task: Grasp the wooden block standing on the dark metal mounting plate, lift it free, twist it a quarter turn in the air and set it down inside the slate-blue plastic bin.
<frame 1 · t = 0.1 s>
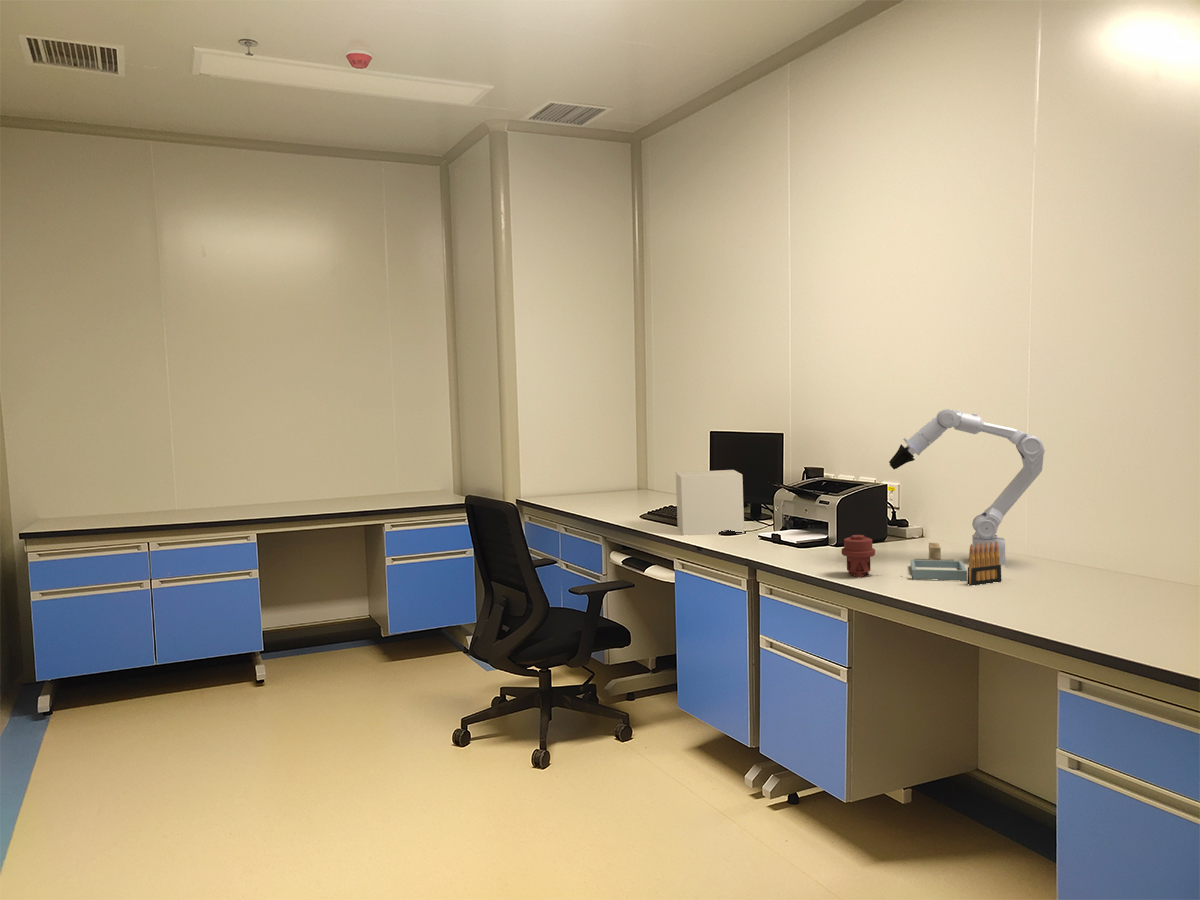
hand: (891, 466, 279), 32 cm above the table, tool tilted 50°, fingers open, 7 cm apart
cube: (710, 531, 361), on the table
ammunition clip: (984, 584, 249), on the table
mounting plate: (934, 565, 275), on the table
mechanical component: (858, 576, 265), on the table
wooden block: (934, 562, 275), point 1 cm above the table, touching mounting plate
bin: (937, 574, 261), on the table
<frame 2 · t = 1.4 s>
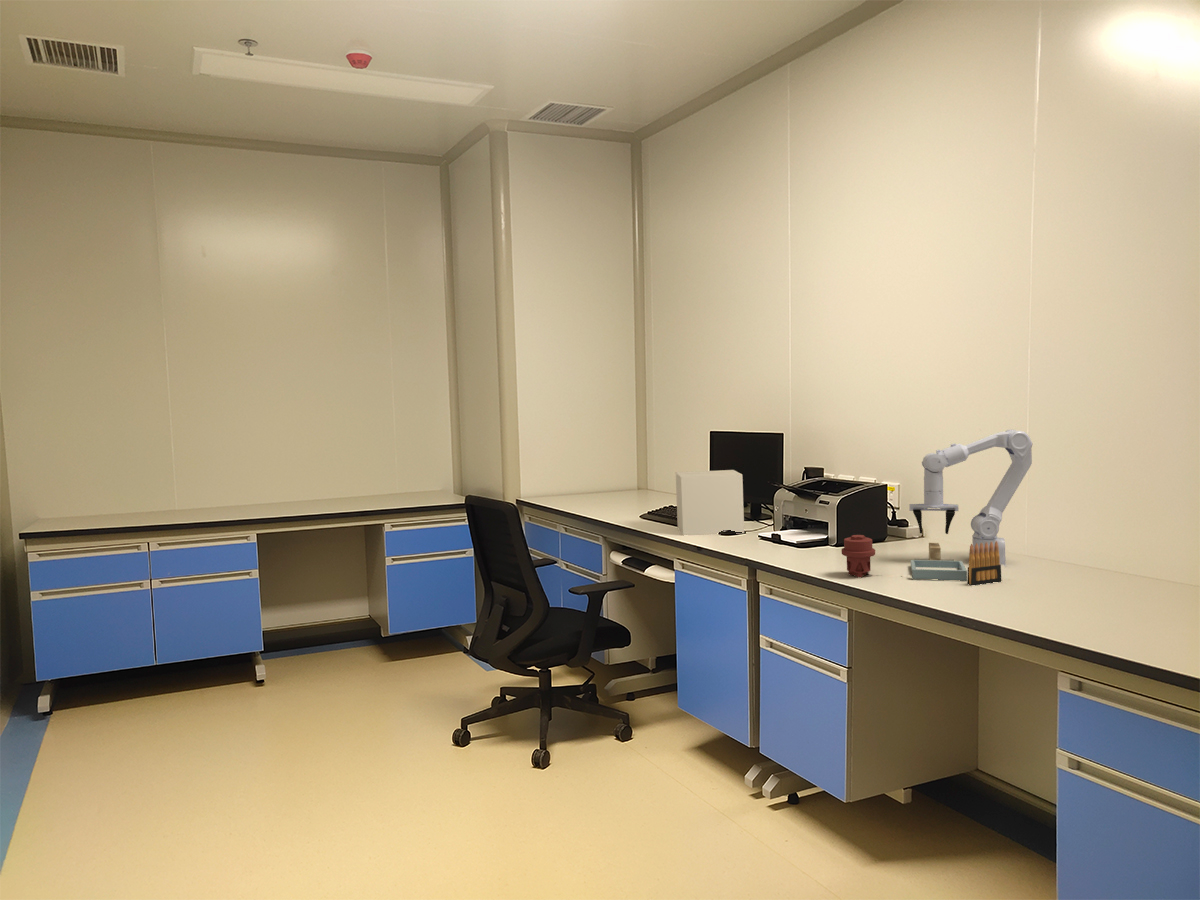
hand: (933, 533, 274), 10 cm above the table, tool pointing down, fingers open, 7 cm apart
nothing on the table moved.
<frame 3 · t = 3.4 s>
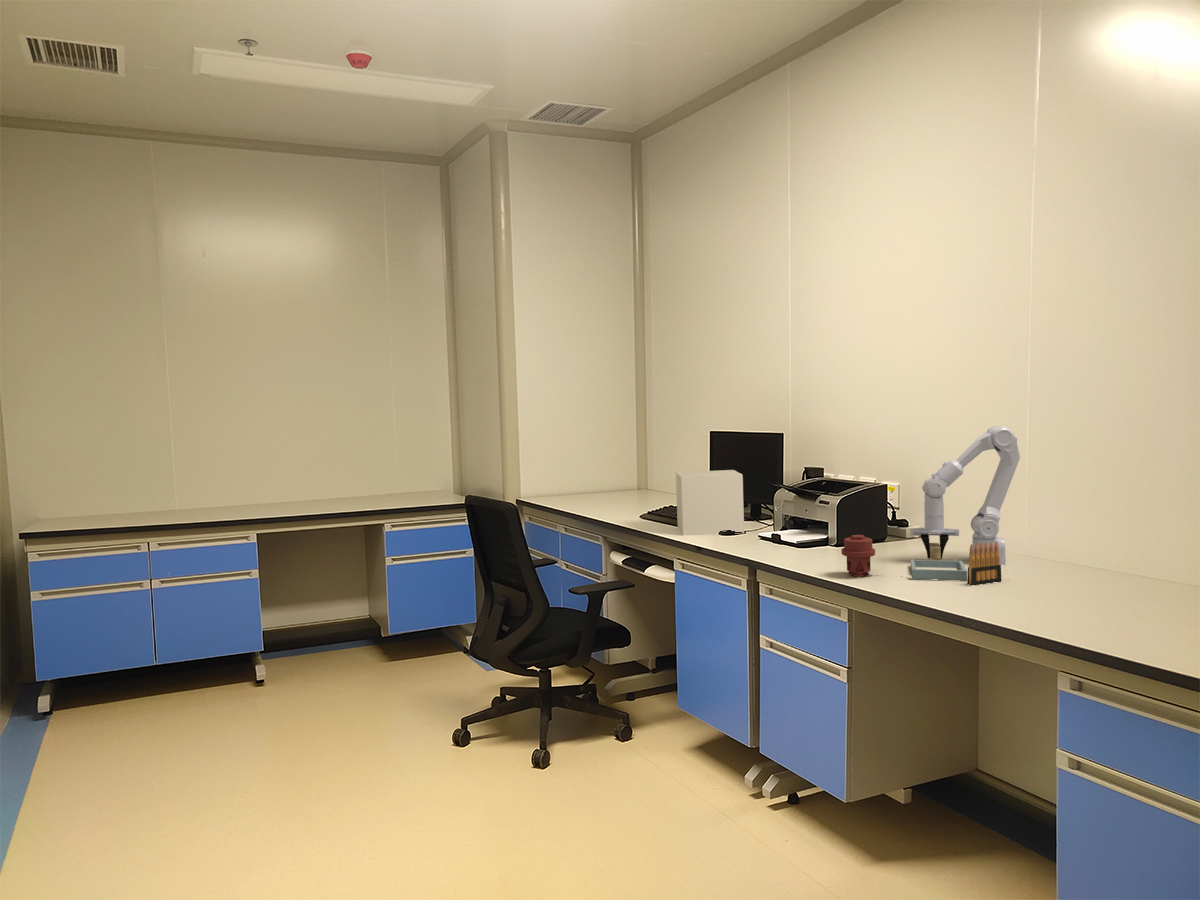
hand: (934, 557, 275), 2 cm above the table, tool pointing down, fingers closed on wooden block, 3 cm apart
wooden block: (934, 562, 275), point 1 cm above the table, touching gripper, mounting plate
everything else where it was.
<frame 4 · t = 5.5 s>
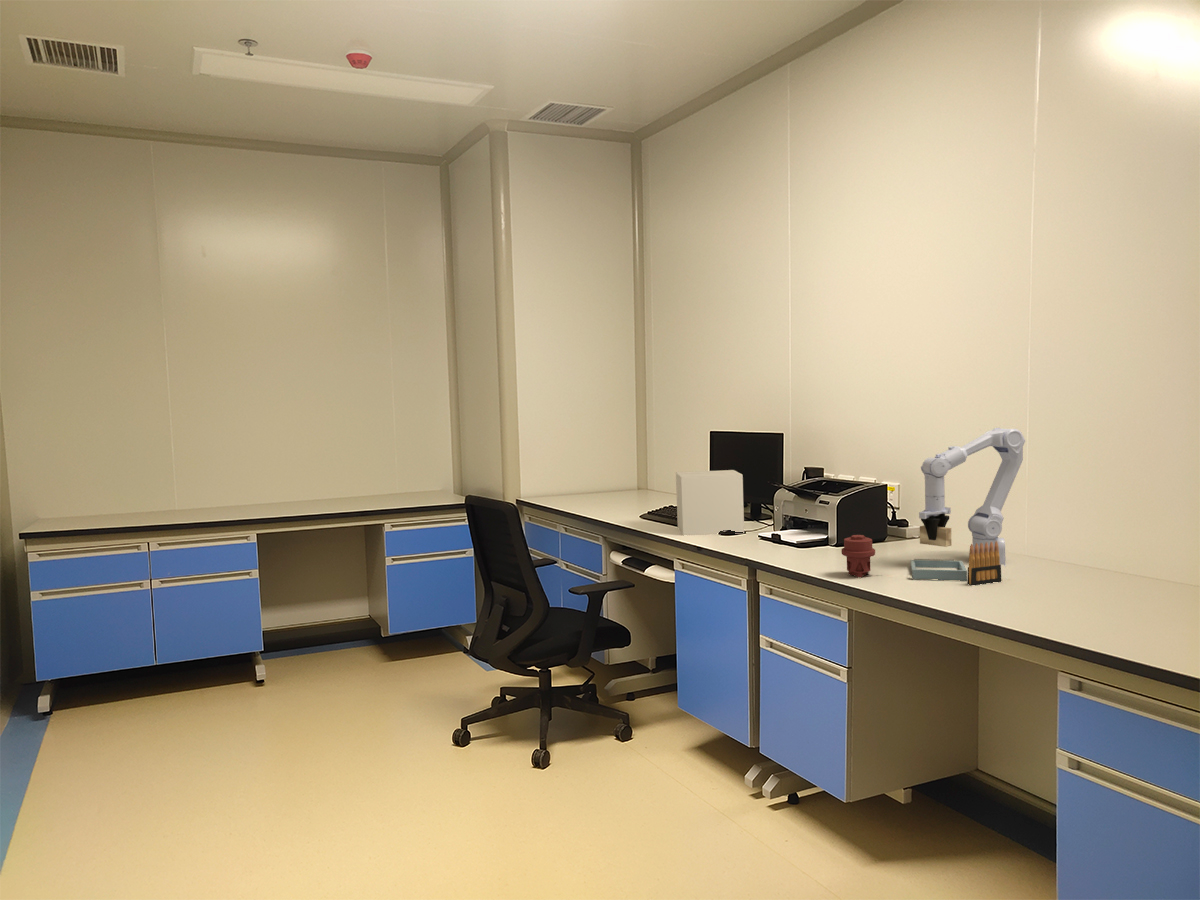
hand: (935, 539, 270), 9 cm above the table, tool pointing down, fingers closed on wooden block, 3 cm apart
wooden block: (935, 544, 270), point 8 cm above the table, touching gripper
everything else where it was.
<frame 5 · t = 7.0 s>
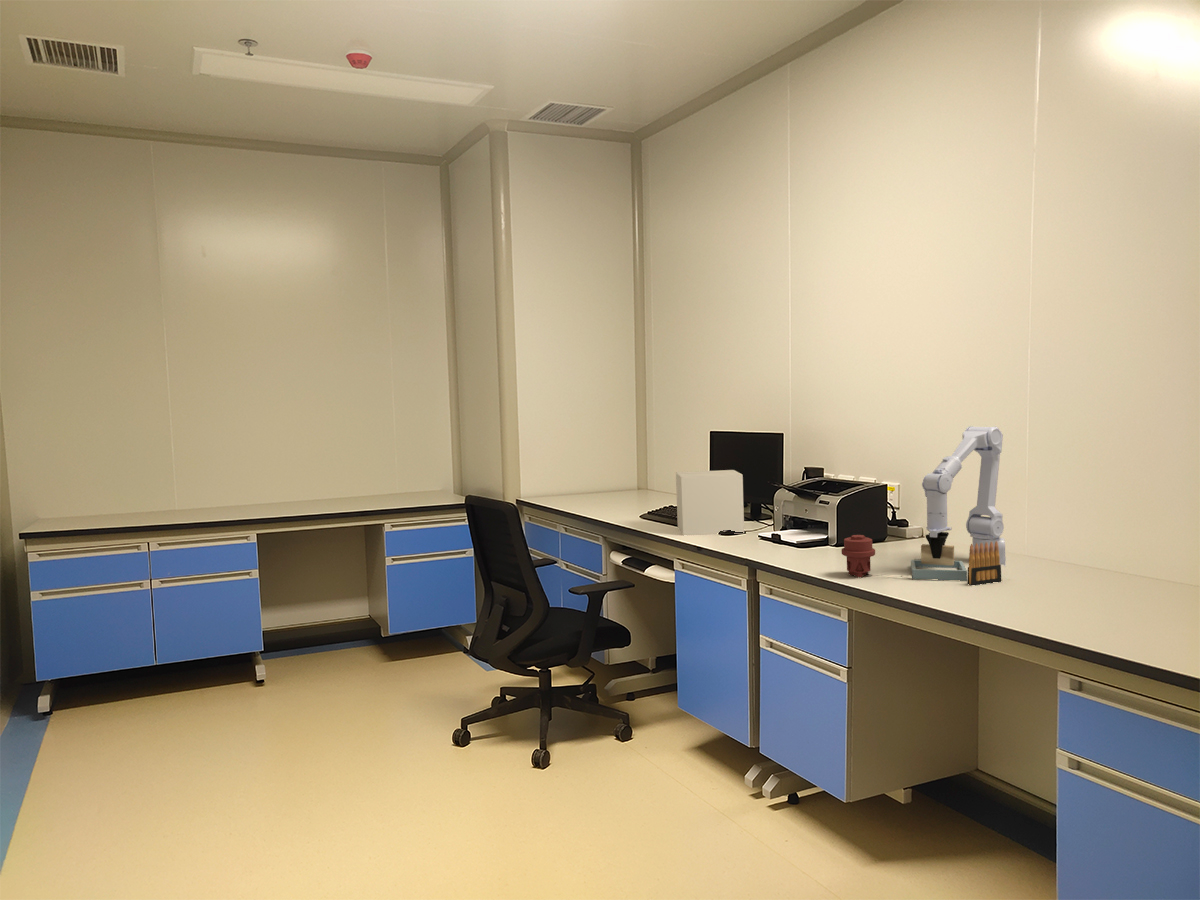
hand: (937, 557, 261), 5 cm above the table, tool pointing down, fingers closed on wooden block, 3 cm apart
wooden block: (937, 563, 261), point 3 cm above the table, touching gripper
everything else where it was.
when the fingers open (3 cm above the table, at t = 8.1 s): wooden block stays where it is, resting on bin.
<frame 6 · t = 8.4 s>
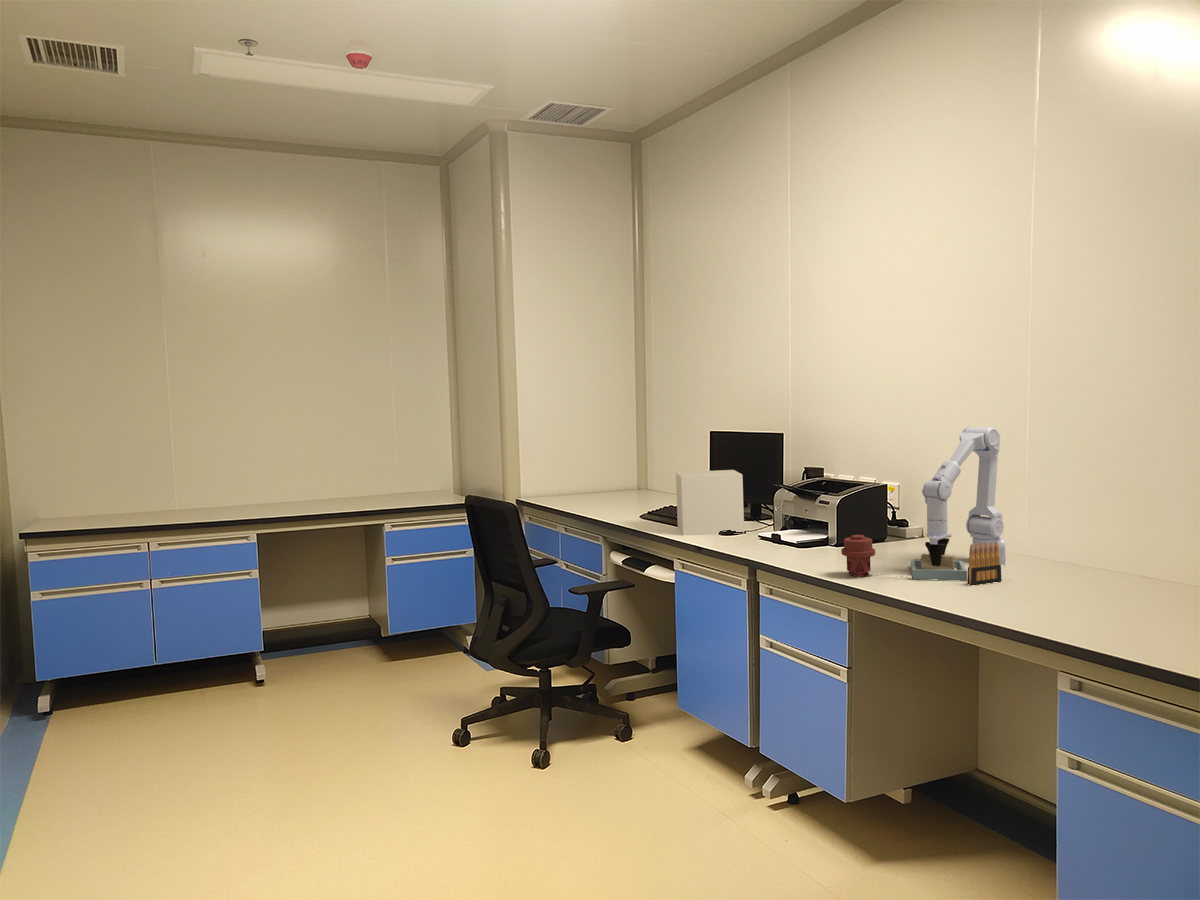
hand: (937, 563, 261), 3 cm above the table, tool pointing down, fingers open, 5 cm apart
wooden block: (937, 573, 261), resting on bin
everything else where it was.
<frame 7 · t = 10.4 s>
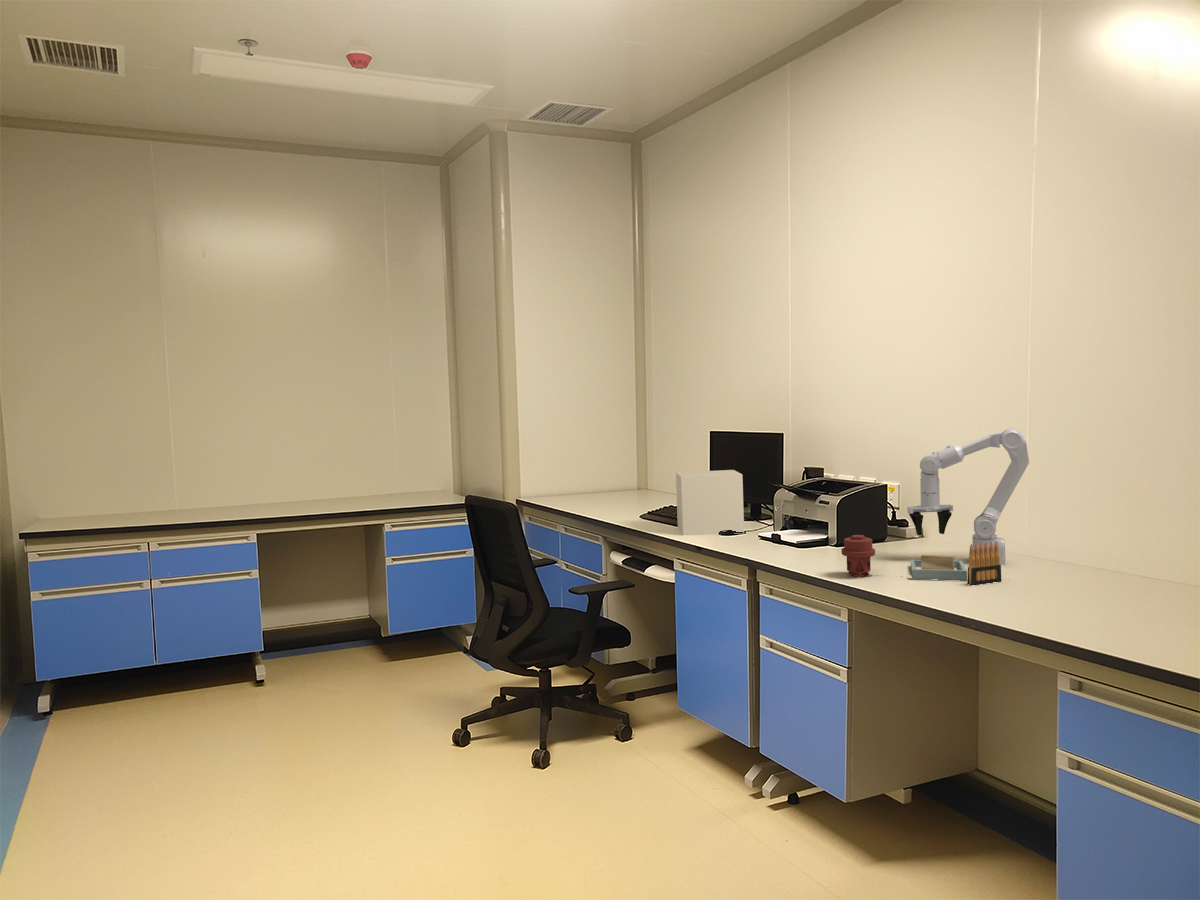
hand: (930, 534, 278), 9 cm above the table, tool pointing down, fingers open, 7 cm apart
nothing on the table moved.
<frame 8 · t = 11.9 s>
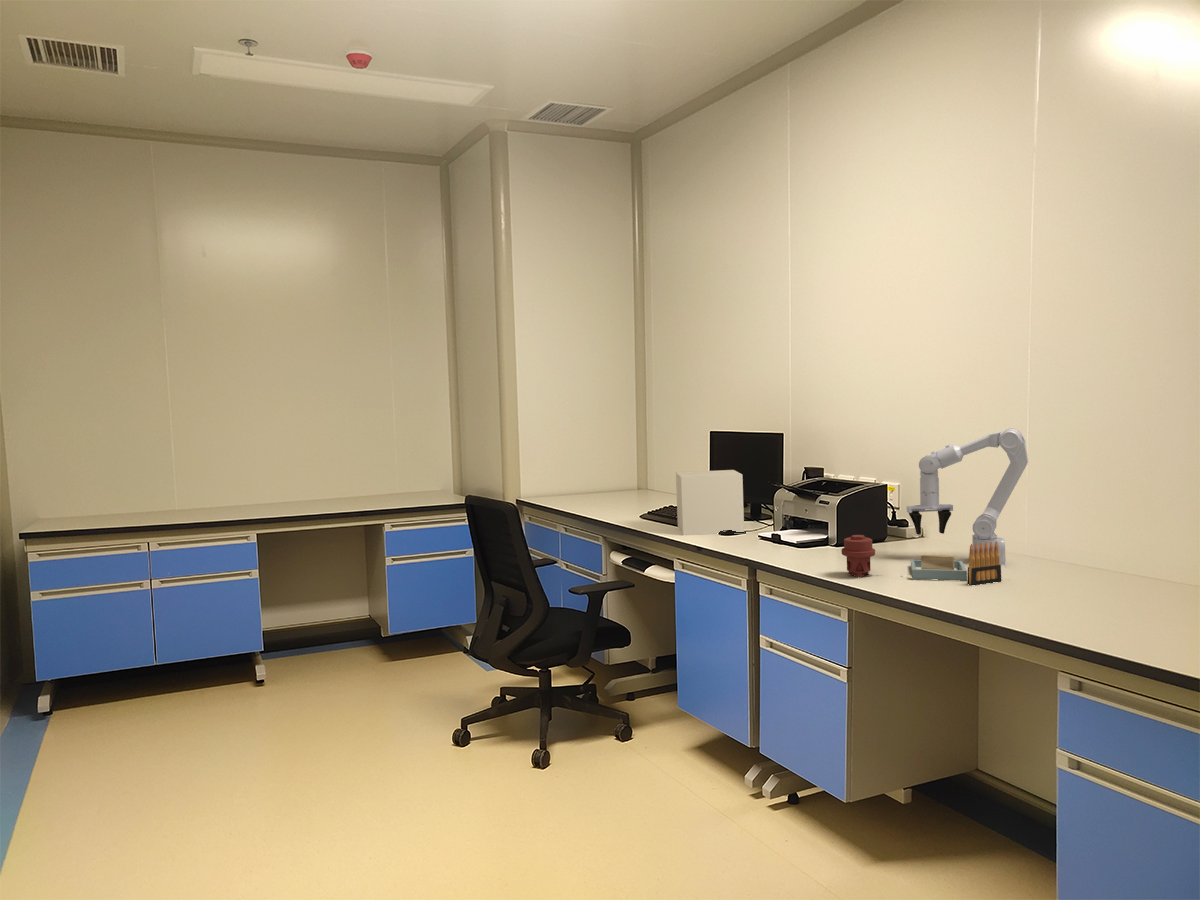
hand: (930, 533, 280), 9 cm above the table, tool pointing down, fingers open, 7 cm apart
nothing on the table moved.
at the end: wooden block inside the target area on the bin (0.0 cm from its centre), point 0.5 cm above the bin's base; the gripper is holding nothing; wooden block moved 14.5 cm from its start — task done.
